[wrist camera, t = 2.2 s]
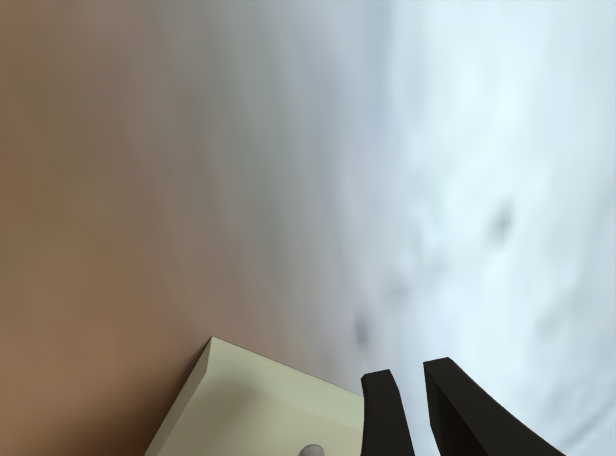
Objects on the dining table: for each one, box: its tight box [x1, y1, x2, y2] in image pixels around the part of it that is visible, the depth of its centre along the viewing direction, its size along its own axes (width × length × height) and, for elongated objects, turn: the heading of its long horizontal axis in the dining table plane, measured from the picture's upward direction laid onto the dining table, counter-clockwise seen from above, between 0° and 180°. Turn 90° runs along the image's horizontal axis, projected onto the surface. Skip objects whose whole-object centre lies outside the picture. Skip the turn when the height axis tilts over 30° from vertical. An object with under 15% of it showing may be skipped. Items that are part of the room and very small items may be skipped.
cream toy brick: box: [145, 336, 364, 456], centre depth 23 cm, size 8×8×3 cm
